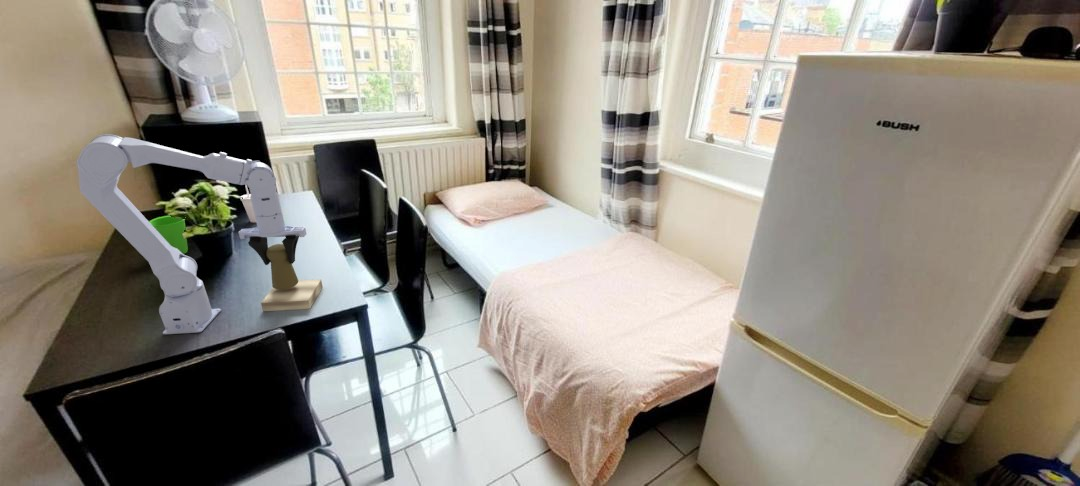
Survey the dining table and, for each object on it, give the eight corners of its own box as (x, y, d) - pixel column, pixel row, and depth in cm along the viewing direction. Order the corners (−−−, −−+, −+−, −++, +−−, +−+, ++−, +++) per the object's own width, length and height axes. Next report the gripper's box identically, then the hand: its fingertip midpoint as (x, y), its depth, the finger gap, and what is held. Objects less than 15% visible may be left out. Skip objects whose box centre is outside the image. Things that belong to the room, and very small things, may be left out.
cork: (286, 291, 110) (277, 254, 105) (266, 286, 111) (256, 249, 106) (303, 279, 115) (296, 243, 110) (284, 275, 116) (276, 239, 111)
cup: (158, 251, 135) (147, 218, 131) (194, 244, 141) (184, 213, 136) (159, 261, 129) (147, 228, 125) (196, 254, 135) (186, 221, 130)
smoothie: (241, 222, 159) (232, 186, 153) (257, 216, 165) (248, 181, 159) (255, 224, 158) (246, 188, 152) (270, 219, 163) (261, 183, 157)
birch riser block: (310, 308, 110) (308, 300, 109) (263, 311, 108) (260, 302, 107) (322, 287, 119) (321, 279, 118) (279, 289, 118) (277, 281, 117)
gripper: (305, 206, 109) (315, 254, 114) (242, 207, 106) (255, 256, 112) (296, 216, 103) (307, 266, 108) (229, 218, 100) (243, 269, 106)
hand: (280, 262), depth 110 cm, fingers closed on cork, 5 cm apart
